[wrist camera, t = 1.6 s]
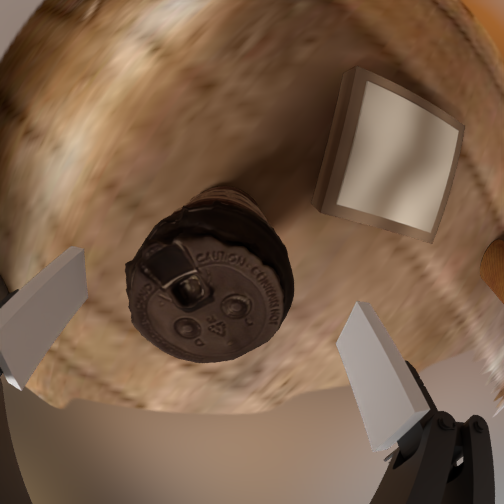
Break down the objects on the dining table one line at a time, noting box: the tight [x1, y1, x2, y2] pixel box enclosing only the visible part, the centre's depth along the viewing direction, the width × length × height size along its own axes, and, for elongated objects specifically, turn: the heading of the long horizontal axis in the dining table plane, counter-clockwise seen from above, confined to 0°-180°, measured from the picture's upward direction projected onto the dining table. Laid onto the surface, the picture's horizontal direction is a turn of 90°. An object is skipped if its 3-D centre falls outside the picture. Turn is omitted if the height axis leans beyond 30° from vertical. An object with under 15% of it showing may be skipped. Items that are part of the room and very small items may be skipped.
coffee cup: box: [125, 186, 294, 363], centre depth 17 cm, size 9×8×13 cm
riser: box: [311, 66, 465, 244], centre depth 20 cm, size 12×12×3 cm
